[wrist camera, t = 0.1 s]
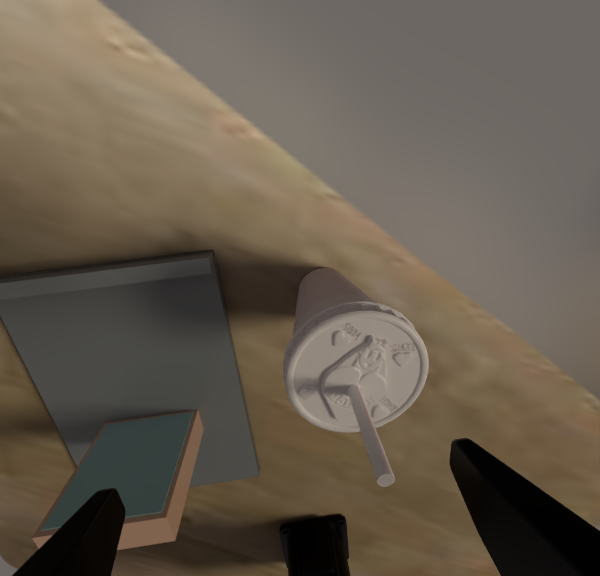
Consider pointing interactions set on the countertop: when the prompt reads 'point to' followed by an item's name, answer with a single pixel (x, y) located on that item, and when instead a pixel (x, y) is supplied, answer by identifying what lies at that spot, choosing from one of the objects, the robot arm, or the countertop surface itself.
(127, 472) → the tile
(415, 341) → the smoothie
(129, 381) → the slate board
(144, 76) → the countertop surface
